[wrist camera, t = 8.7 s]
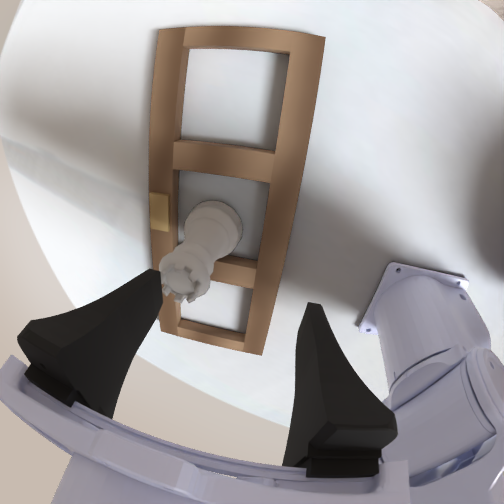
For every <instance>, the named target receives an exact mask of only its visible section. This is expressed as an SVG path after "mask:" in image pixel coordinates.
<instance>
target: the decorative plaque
mask: <svg viewBox="0 0 504 504" xmlns="http://www.w3.org/2000/svg"><path fill="white" fill-rule="evenodd" d="M479 1H481V2H482V3H484V4H485V5H487V6H488V7H490V8H491V9H492V10H493V11H494V12H496V13H497V14H498V15H499V17H500V18H501V19H502V20H503V21H504V0H479Z"/></svg>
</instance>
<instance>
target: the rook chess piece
mask: <svg viewBox="0 0 504 504" xmlns="http://www.w3.org/2000/svg"><path fill="white" fill-rule="evenodd" d="M242 231H243V227H242V223H241V219H240V217H239V216H238V215H237V213H236V212H235V211H234V209H232V208H231V207H229V206H228V205H226V204H225V203H223V202H218V201H213V200H211V201H205V202H201V203H200V204H198V205H197V206H195V207H194V208H193V209H192V211H191V213H190V214H189V215H188V217H187V219H186V221H185V225H184V235H185V237H184V238H185V239H184V241H183V243H181V244H180V245H178V246H177V247H175V249H174V251H173V253H169V254H167V255H166V256H164V257H163V258H162V260H161V262H160V264H159V271H160V272H161V284H164V287H163V288H162V292H163V293H164V294H165V295H166V297H167V296H168V295H169V293H170V292H171V293H172V294H174V295H175V298H174V301H175V302H178V303H182V301H183V300H184V298H187V299H186V300H187V301H188V303H190V302H192V301H195V299H196V298H197V297H200V296H202V295H204V294H205V293H206V292H207V290H208V289H209V288H210V280H211V279H210V275H211V274H212V272H213V268H214V262H215V261H216V260H217V259H219V258H222V257H224V256H226V255H228V254H230V253H231V252H232V251H233V250H234V249H235V247H236V246H237V244H238V242H239V241H240V240H241V237H242Z"/></svg>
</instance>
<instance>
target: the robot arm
mask: <svg viewBox="0 0 504 504" xmlns="http://www.w3.org/2000/svg"><path fill="white" fill-rule="evenodd" d="M398 268H400V269H399V270H398V271H396V269H398ZM468 285H469V281H468V279H466V278H462V277H458V276H454V275H449V274H445V273H440V272H436V271H432V270H427V269H423V268H418V267H414V266H409V265H404V264H400V263H395V262H392V263H390V264H388V266H387V268H386V270H385V273H384V275H383V277H382V280H381V282H380V284H379V286H378V288H377V291H376V293H375V295H374V297H373V299H372V301H371V303H370V305H369V307H368V309H367V311H366V313H365V315H364V317H363V319H362V321H361V323H360V325H359V332H361V333H367V334H375V335H378V336H379V341H380V345H381V350H382V355H383V360H384V366H385V371H386V377H387V383H388V389H389V396H388V397H387V398H386V399H385V400H384V401H383V403H382V402H381V401H380V400H379V399H378V398H377V397H376V396H375V395H374V394H373V393H372V392H371V391H370V390H369V388H368V387H367V386H366V385H365V384H364V382H363V381H362V380H361V379H360V377H359V376H358V375H357V373H356V372H355V371H354V369H353V368H352V366H351V365H350V363H349V362H348V360H347V358H346V357H345V355H344V353H343V351H342V350H341V348H340V346H339V344H338V342H337V340H336V338H335V336H334V334H333V332H332V329H331V327H330V325H329V323H328V320H327V318H326V315H325V313H324V310H323V307H322V306H321V304H316V303H311V302H308V304H307V307H306V310H305V313H304V316H303V319H302V321H301V324H300V327H299V330H298V335H297V343H296V358H295V398H294V405H293V412H292V418H291V424H290V430H289V436H288V440H287V446H286V451H285V455H284V459H283V464H282V466H276V465H268V464H261V463H255V462H249V461H243V460H237V459H232V458H228V457H223V456H218V455H214V454H210V453H206V452H202V451H198V450H195V449H191V448H188V447H184V446H181V445H178V444H174V443H171V442H168V441H165V440H162V439H159V438H157V437H154V436H151V435H148V434H145V433H143V432H140V431H138V430H135V429H133V428H130V427H128V426H126V425H123V424H121V423H119V422H116V421H114V420H112V418H113V414H114V410H115V407H116V403H117V399H118V397H119V394H120V391H121V387H122V385H123V382H124V379H125V376H126V374H127V372H128V369H129V367H130V364H131V362H132V360H133V358H134V356H135V354H136V352H137V350H138V348H139V347H140V345H141V343H142V342H143V340H144V338H145V337H146V335H147V333H148V332H149V330H150V328H151V327H152V325H153V323H154V322H155V320H156V318H157V316H158V314H159V311H160V309H161V307H162V304H163V294H162V284H161V272H160V271H157V270H153V269H148V270H147V271H145V272H143V273H142V274H140V275H138V276H137V277H135V278H134V279H132V280H131V281H129V282H127V283H126V284H124V285H123V286H121V287H119V288H118V289H116V290H114V291H112V292H111V293H109V294H107V295H105V296H104V297H102V298H100V299H98V300H96V301H94V302H92V303H89V304H87V305H85V306H83V307H80V308H77V309H74V310H72V311H69V312H66V313H63V314H59V315H56V316H52V317H47V318H43V319H37V320H31V321H30V322H29V323H28V324H27V325H26V327H25V328H24V329H23V330H22V331H21V333H20V334H19V335H18V336H17V340H18V344H19V346H20V347H21V349H22V351H23V352H24V354H25V355H26V357H27V358H28V360H29V361H30V363H31V365H30V366H29V367H27V366H26V365H25V364H24V363H23V362H22V361H20V360H19V359H18V358H16V357H15V356H14V355H11V356H10V357H9V358H8V360H7V361H6V362H5V364H4V365H3V367H2V368H1V369H0V400H1V401H2V402H3V403H4V404H5V405H6V406H7V407H8V408H9V409H10V410H11V411H12V412H13V413H14V414H15V415H17V416H18V417H19V418H20V419H21V420H23V421H24V422H25V423H27V424H28V425H29V426H30V427H32V428H33V429H34V430H35V431H37V432H38V433H39V434H41V435H42V436H43V437H45V438H46V439H48V440H49V441H50V442H52V443H53V444H55V445H56V446H58V447H59V448H61V449H62V450H64V451H65V452H67V453H69V454H70V455H72V457H71V460H70V462H69V464H68V466H67V468H66V470H65V472H64V475H63V477H62V479H61V481H60V484H59V486H58V488H57V490H56V493H55V495H54V497H53V500H52V502H51V504H504V477H503V474H502V472H503V471H504V366H503V364H502V363H501V361H500V360H499V359H498V357H497V356H496V355H495V354H494V353H493V352H492V351H491V339H490V334H489V331H488V329H487V327H486V325H485V323H484V321H483V319H482V318H481V316H480V314H479V312H478V311H477V309H476V307H475V305H474V304H473V302H472V300H471V299H470V297H469V295H468V294H467V292H466V291H465V290H466V289H467V287H468ZM368 328H370V329H368ZM210 471H211V472H210ZM213 472H215V473H213ZM216 473H219V474H216ZM220 474H224V475H229V476H234V477H237V478H236V479H235V478H231V477H227V476H223V475H220Z"/></svg>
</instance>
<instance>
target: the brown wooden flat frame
mask: <svg viewBox="0 0 504 504" xmlns="http://www.w3.org/2000/svg"><path fill="white" fill-rule="evenodd" d="M325 38H326V37H322V36H317V35H312V34H306V33H300V32H294V31H286V30H278V29H268V28H256V27H238V26H201V27H182V28H171V29H161V30H159V36H158V42H157V50H156V57H155V65H154V75H153V85H152V97H151V111H150V130H149V212H150V232H151V247H152V260H153V270H157V271H159V264H160V262H161V260H162V258H163V257H164V256H166V255H167V254H169V253H173V251H174V249H175V247H177V246H178V187H179V170H185V171H193V172H201V173H208V174H216V175H223V176H230V177H236V178H243V179H249V180H255V181H261V182H267V183H270V188H269V195H268V201H267V207H266V213H265V220H264V226H263V232H262V238H261V244H260V251H259V257H258V261H256V260H250V259H245V258H240V257H235V256H230V255H226V256H224V257H222V258H219V259H217V260H216V261H215V262H214V268H213V272H212V274H211V275H210V279H211V280H213V281H217V282H222V283H227V284H231V285H236V286H241V287H246V288H251V289H253V293H252V299H251V305H250V311H249V317H248V323H247V329H246V334H243V333H239V332H234V331H229V330H225V329H221V328H216V327H212V326H208V325H204V324H200V323H195V322H192V321H188V320H184V319H181V308H180V303H178V302H175V301H174V298H175V295H174V294H172V293H171V292H170V293H169V295H168V296H167V297H166V295H165V294H164V293H163V292H162V294H163V304H162V307H161V309H160V311H159V321H160V328H161V331H162V332H166V333H169V334H173V335H176V336H180V337H183V338H187V339H191V340H195V341H199V342H203V343H207V344H211V345H215V346H219V347H223V348H228V349H232V350H237V351H242V352H246V353H251V354H256V355H261V356H262V353H263V349H264V345H265V341H266V337H267V333H268V329H269V325H270V321H271V317H272V313H273V309H274V305H275V300H276V296H277V292H278V288H279V283H280V279H281V275H282V270H283V266H284V262H285V257H286V253H287V248H288V244H289V239H290V234H291V230H292V225H293V220H294V215H295V211H296V206H297V201H298V196H299V191H300V186H301V181H302V176H303V171H304V165H305V160H306V155H307V149H308V144H309V138H310V133H311V127H312V122H313V116H314V110H315V104H316V98H317V92H318V85H319V79H320V73H321V66H322V59H323V53H324V45H325ZM189 49H237V50H252V51H263V52H272V53H280V54H288V55H290V57H289V64H288V71H287V78H286V84H285V91H284V98H283V104H282V111H281V117H280V124H279V131H278V137H277V144H276V150H275V151H271V150H265V149H258V148H252V147H245V146H237V145H230V144H221V143H212V142H203V141H192V140H181V126H182V113H183V101H184V91H185V82H186V73H187V65H188V57H189ZM163 287H164V284H162V288H163Z"/></svg>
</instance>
